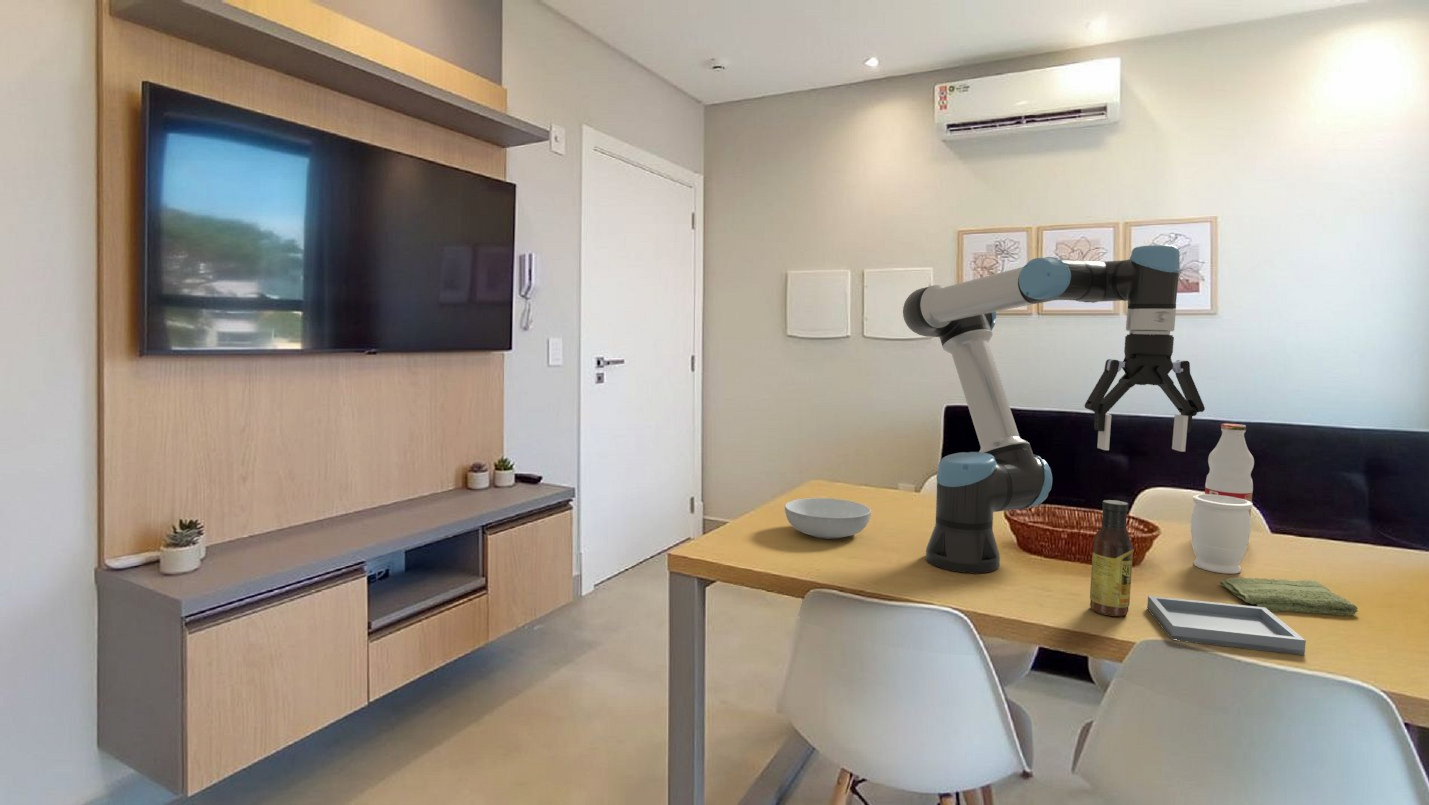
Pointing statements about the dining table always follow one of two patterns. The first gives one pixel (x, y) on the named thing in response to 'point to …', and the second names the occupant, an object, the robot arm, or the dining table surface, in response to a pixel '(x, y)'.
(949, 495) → the robot arm
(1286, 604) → the washcloth
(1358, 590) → the dining table surface
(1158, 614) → the tray
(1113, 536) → the sauce bottle
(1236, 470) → the fruit juice
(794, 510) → the serving bowl
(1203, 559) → the jar
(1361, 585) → the dining table surface
